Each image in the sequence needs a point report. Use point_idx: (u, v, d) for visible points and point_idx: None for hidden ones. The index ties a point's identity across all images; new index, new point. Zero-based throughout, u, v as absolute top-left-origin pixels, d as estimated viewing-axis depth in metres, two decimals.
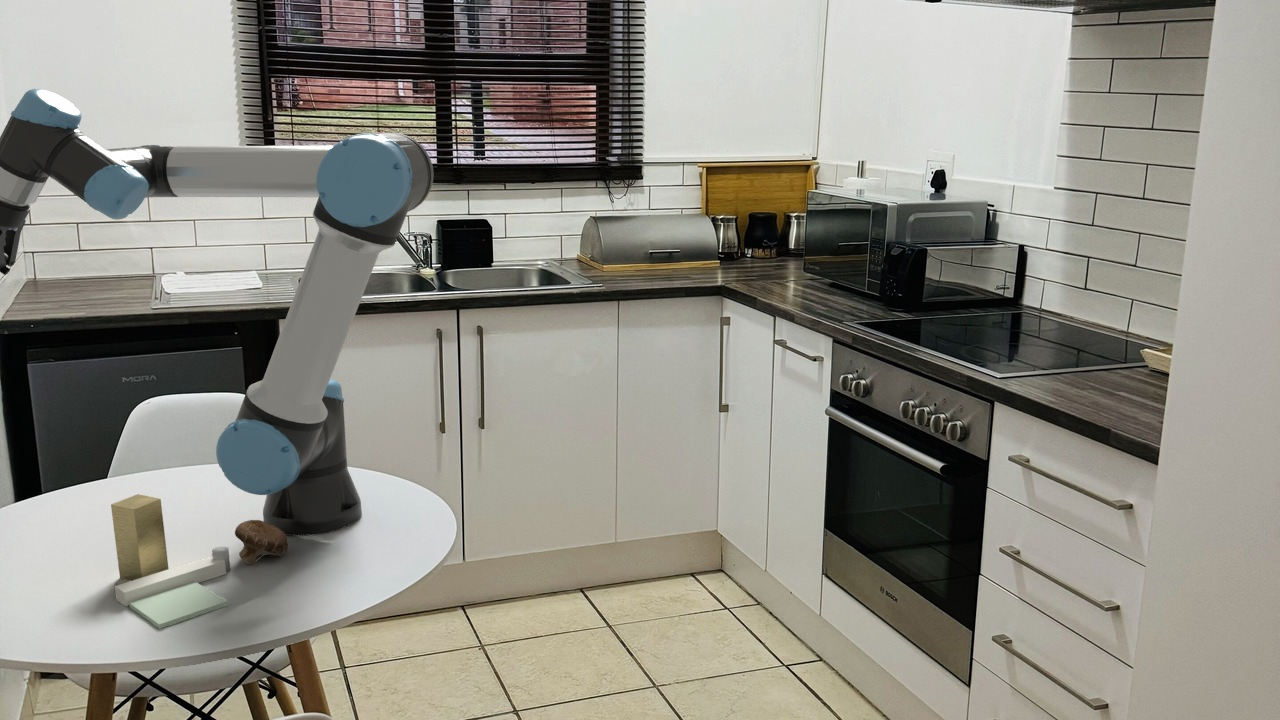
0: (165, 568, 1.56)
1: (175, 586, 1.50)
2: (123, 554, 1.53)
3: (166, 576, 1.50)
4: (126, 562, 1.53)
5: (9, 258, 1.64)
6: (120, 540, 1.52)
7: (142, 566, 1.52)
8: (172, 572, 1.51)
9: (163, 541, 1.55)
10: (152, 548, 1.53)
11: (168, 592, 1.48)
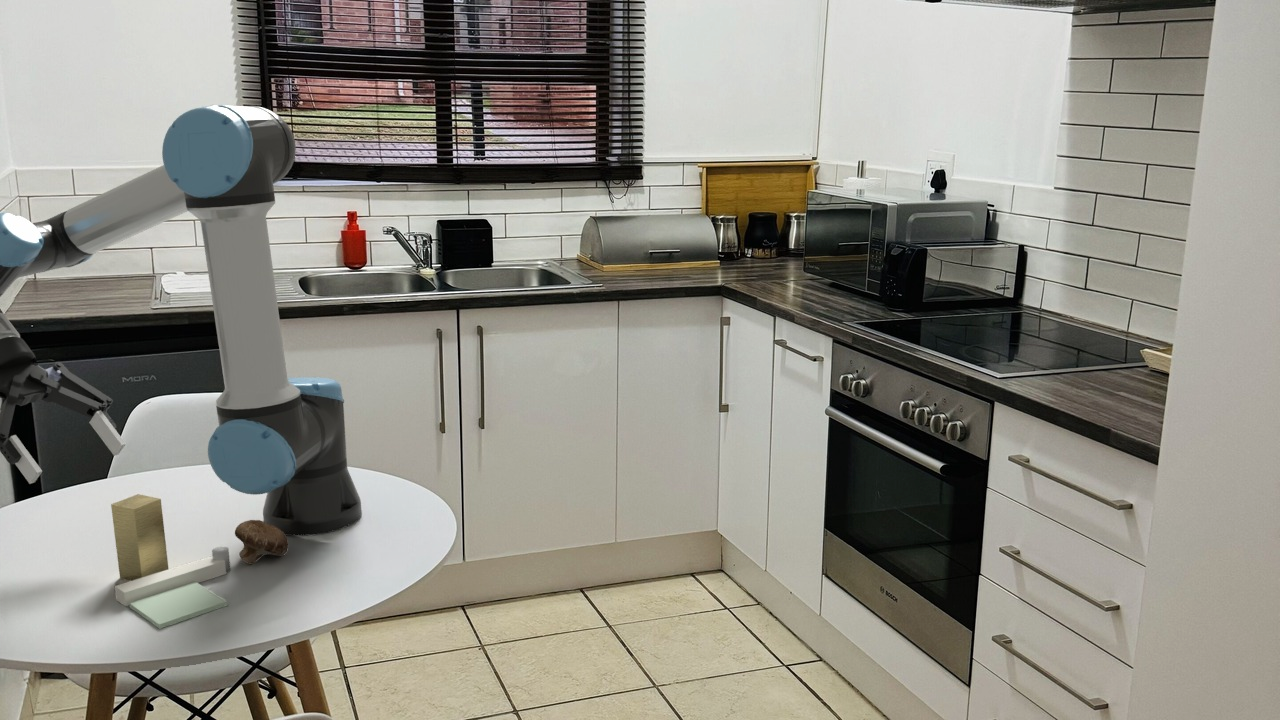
0: (165, 568, 1.56)
1: (175, 586, 1.50)
2: (123, 554, 1.53)
3: (166, 576, 1.50)
4: (126, 562, 1.53)
5: (97, 397, 1.64)
6: (120, 540, 1.52)
7: (142, 566, 1.52)
8: (172, 572, 1.51)
9: (163, 541, 1.55)
10: (152, 548, 1.53)
11: (168, 592, 1.48)
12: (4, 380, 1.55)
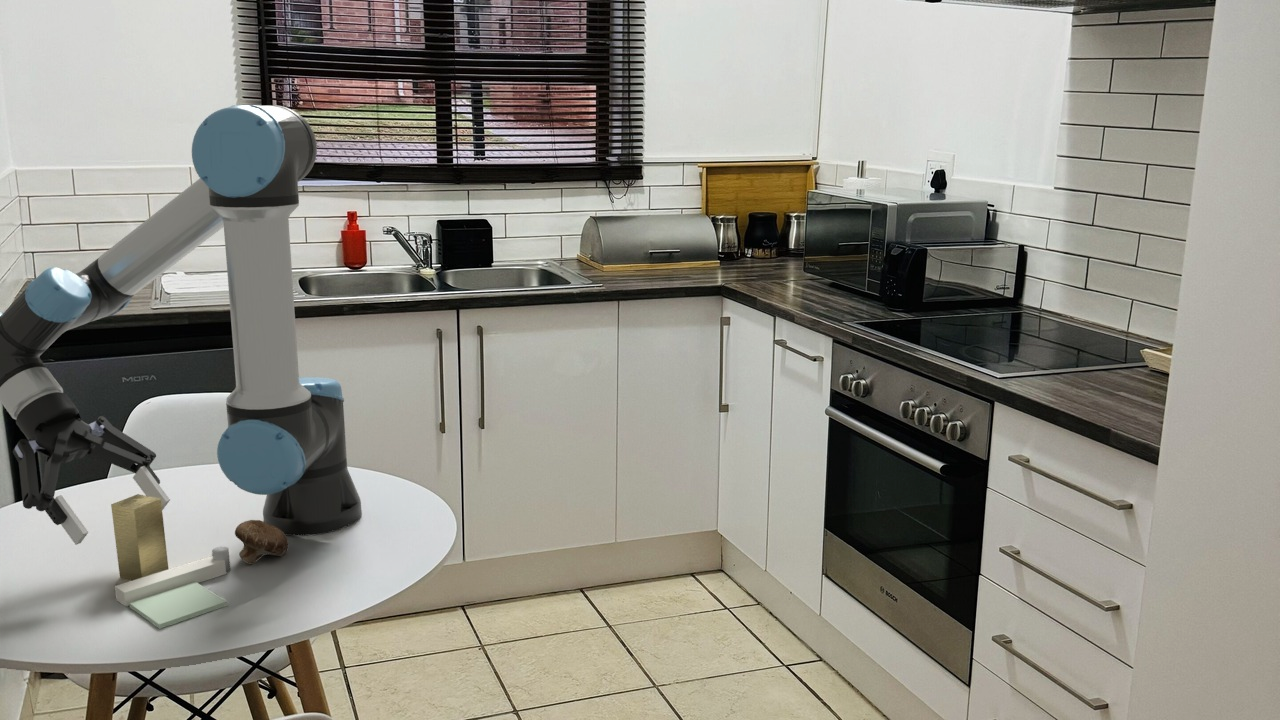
0: (165, 568, 1.56)
1: (175, 586, 1.50)
2: (123, 554, 1.53)
3: (166, 576, 1.50)
4: (126, 562, 1.53)
5: (141, 452, 1.62)
6: (120, 540, 1.52)
7: (142, 566, 1.52)
8: (172, 572, 1.51)
9: (163, 541, 1.55)
10: (152, 548, 1.53)
11: (168, 592, 1.48)
12: (48, 437, 1.53)
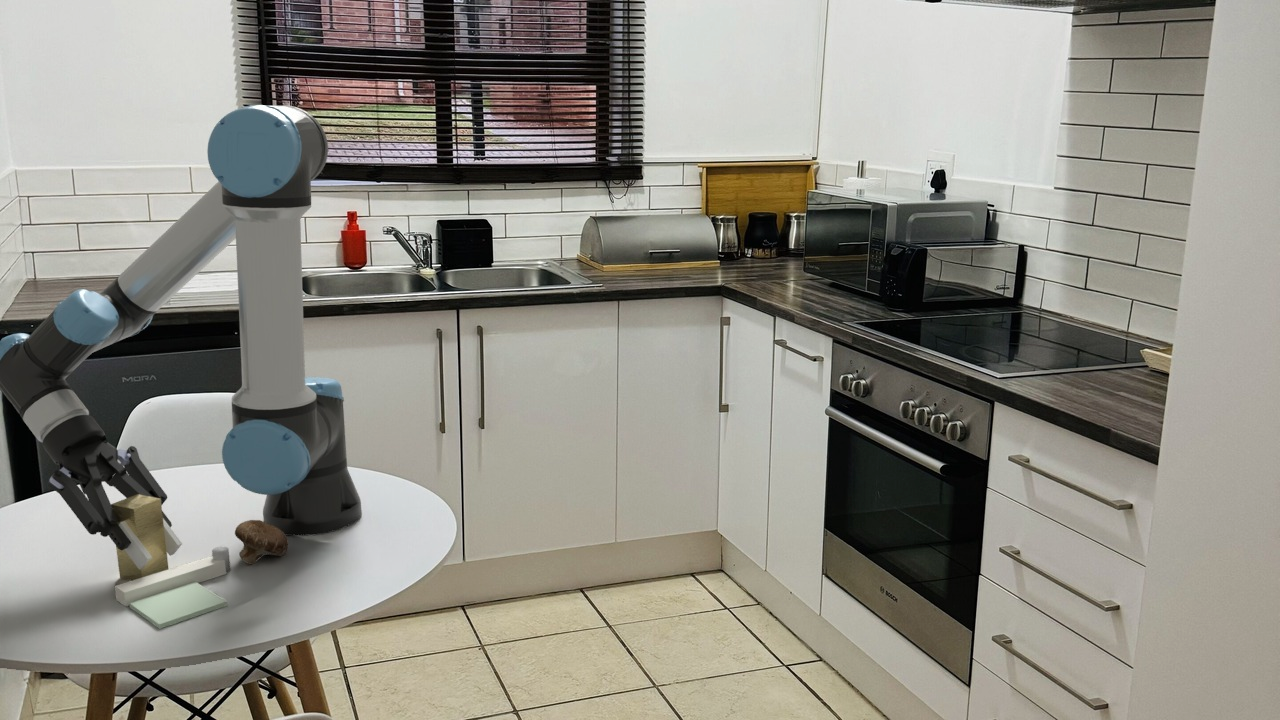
0: (165, 568, 1.56)
1: (175, 586, 1.50)
2: (123, 554, 1.53)
3: (166, 576, 1.50)
4: (126, 562, 1.53)
5: (153, 490, 1.58)
6: None
7: None
8: (172, 572, 1.51)
9: (163, 541, 1.55)
10: (152, 548, 1.53)
11: (168, 592, 1.48)
12: (74, 460, 1.52)
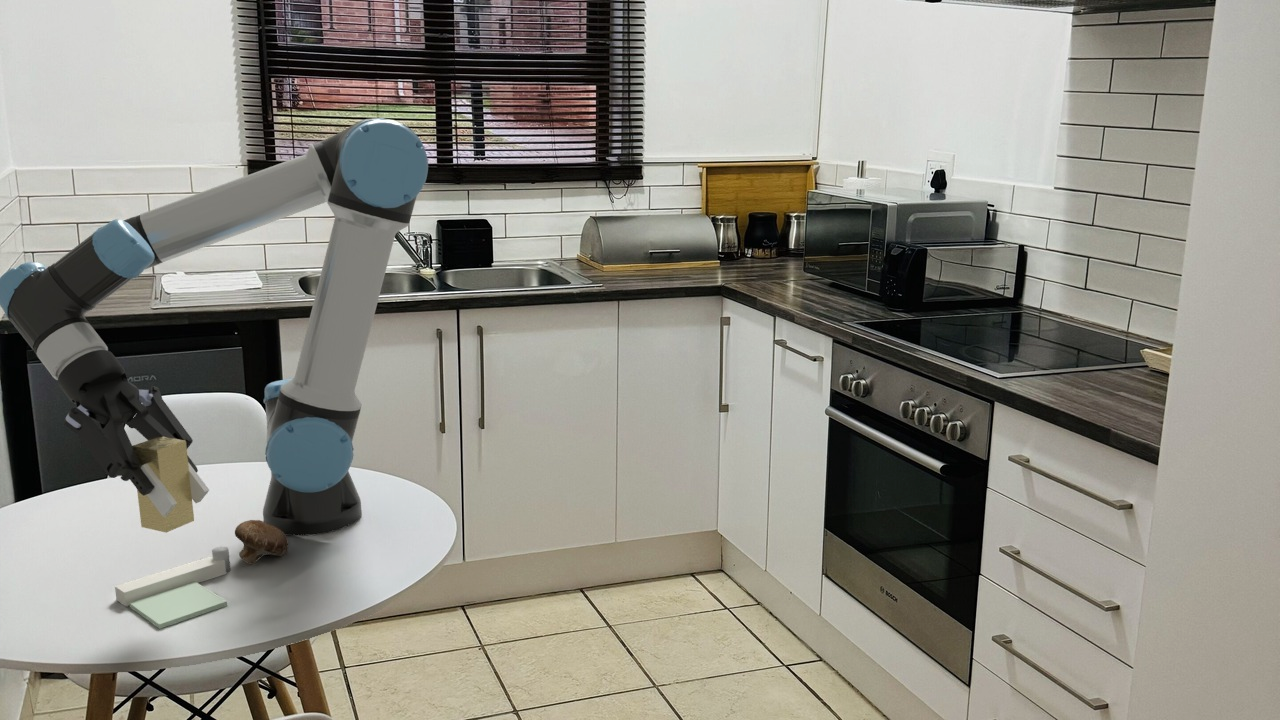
0: (190, 517, 1.43)
1: (175, 586, 1.50)
2: (145, 500, 1.40)
3: (166, 576, 1.50)
4: (148, 509, 1.40)
5: (177, 433, 1.45)
6: None
7: None
8: (172, 572, 1.51)
9: (188, 487, 1.42)
10: (177, 494, 1.41)
11: (168, 592, 1.48)
12: (92, 397, 1.40)
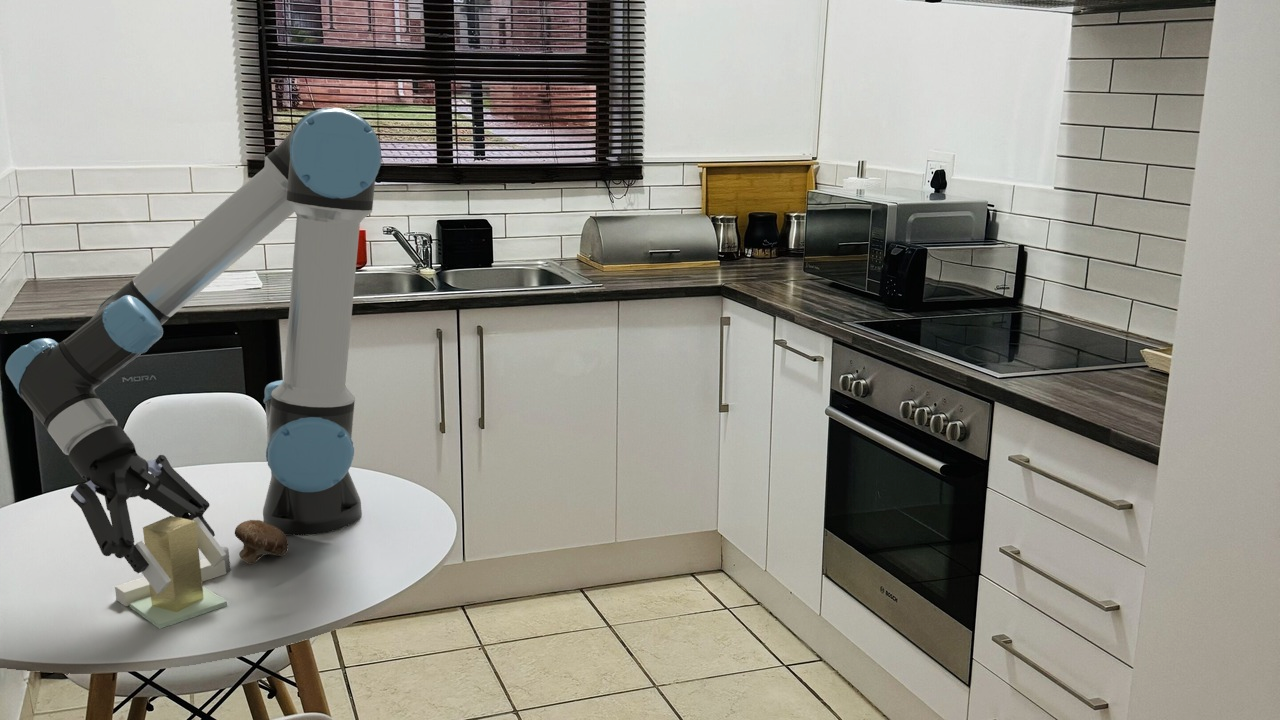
0: (200, 595, 1.46)
1: None
2: None
3: None
4: None
5: (194, 499, 1.49)
6: None
7: (176, 593, 1.42)
8: None
9: (198, 566, 1.45)
10: (187, 574, 1.43)
11: None
12: (104, 474, 1.42)
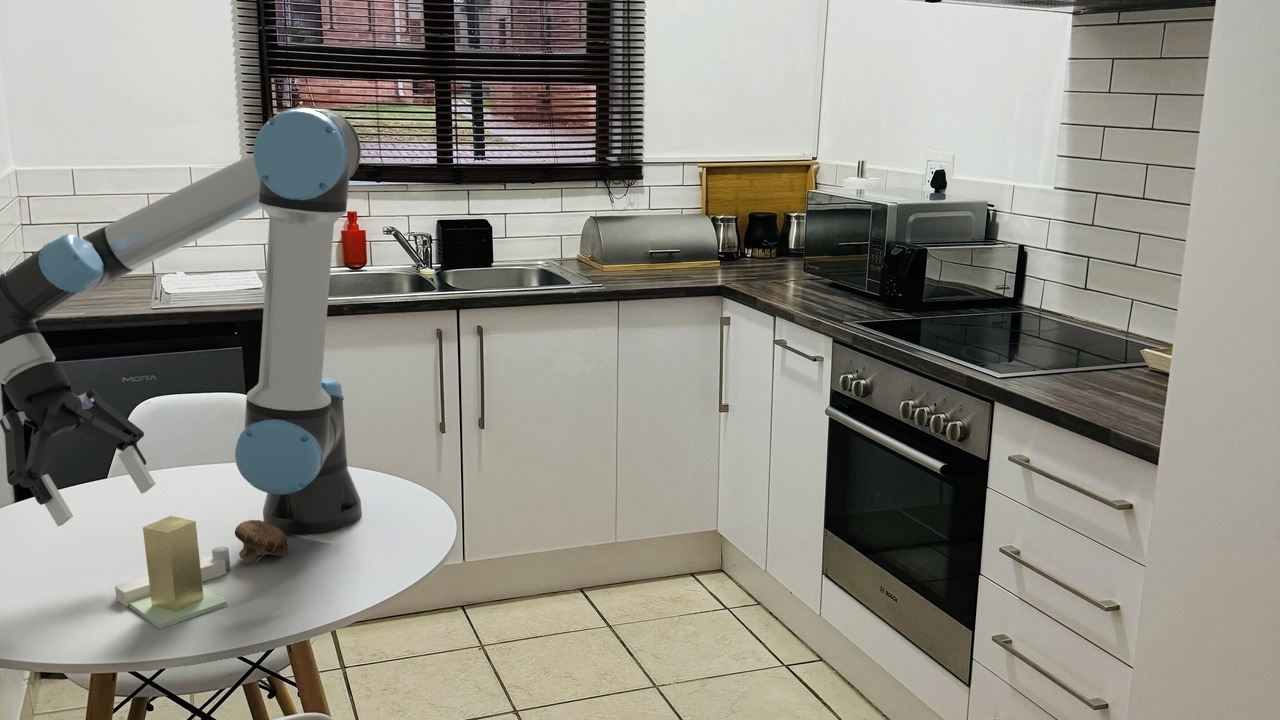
0: (200, 595, 1.46)
1: None
2: (155, 580, 1.43)
3: None
4: (159, 589, 1.43)
5: (129, 430, 1.57)
6: (153, 566, 1.42)
7: (176, 593, 1.42)
8: None
9: (198, 566, 1.45)
10: (187, 574, 1.43)
11: None
12: (38, 410, 1.48)
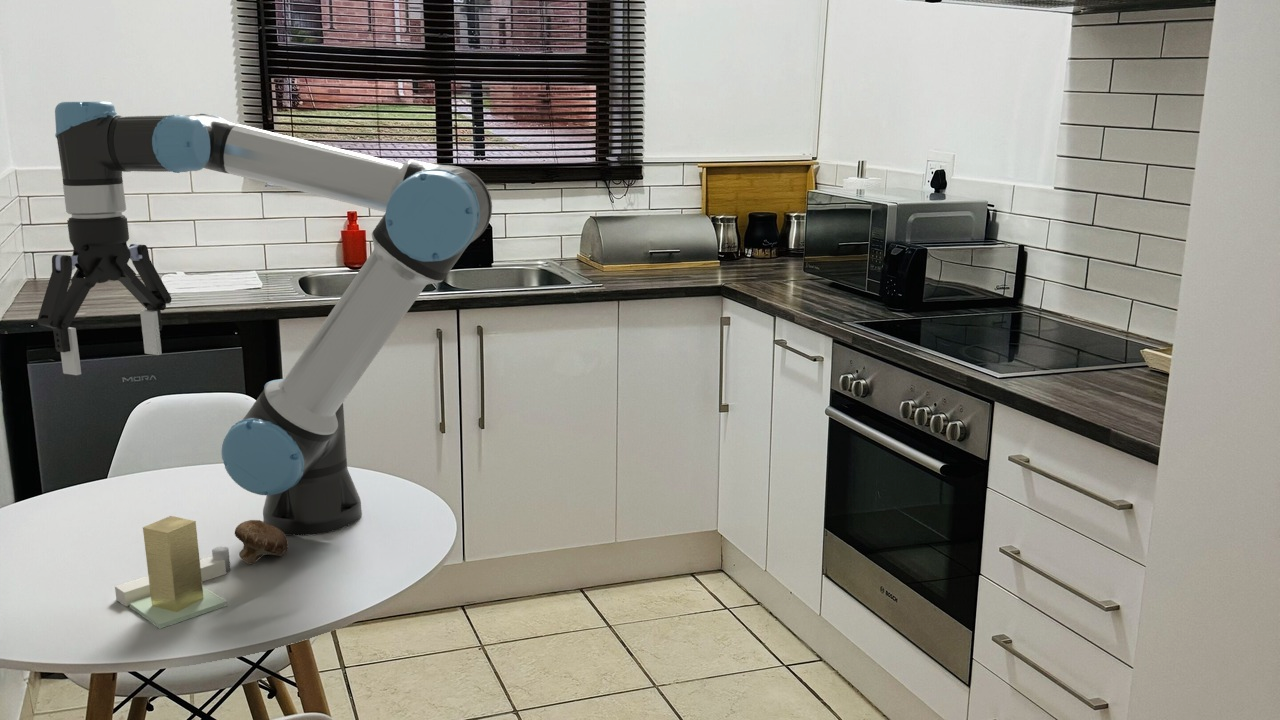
0: (200, 595, 1.46)
1: None
2: (155, 580, 1.43)
3: None
4: (159, 589, 1.43)
5: (160, 293, 1.62)
6: (153, 566, 1.42)
7: (176, 593, 1.42)
8: None
9: (198, 566, 1.45)
10: (187, 574, 1.43)
11: None
12: (90, 259, 1.51)
